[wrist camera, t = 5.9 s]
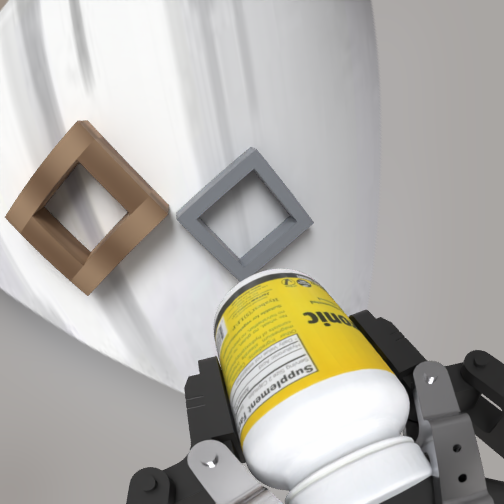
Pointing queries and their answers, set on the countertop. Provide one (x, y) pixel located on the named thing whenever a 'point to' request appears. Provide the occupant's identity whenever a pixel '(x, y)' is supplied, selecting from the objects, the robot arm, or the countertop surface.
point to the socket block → (113, 180)
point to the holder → (271, 242)
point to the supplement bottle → (312, 395)
